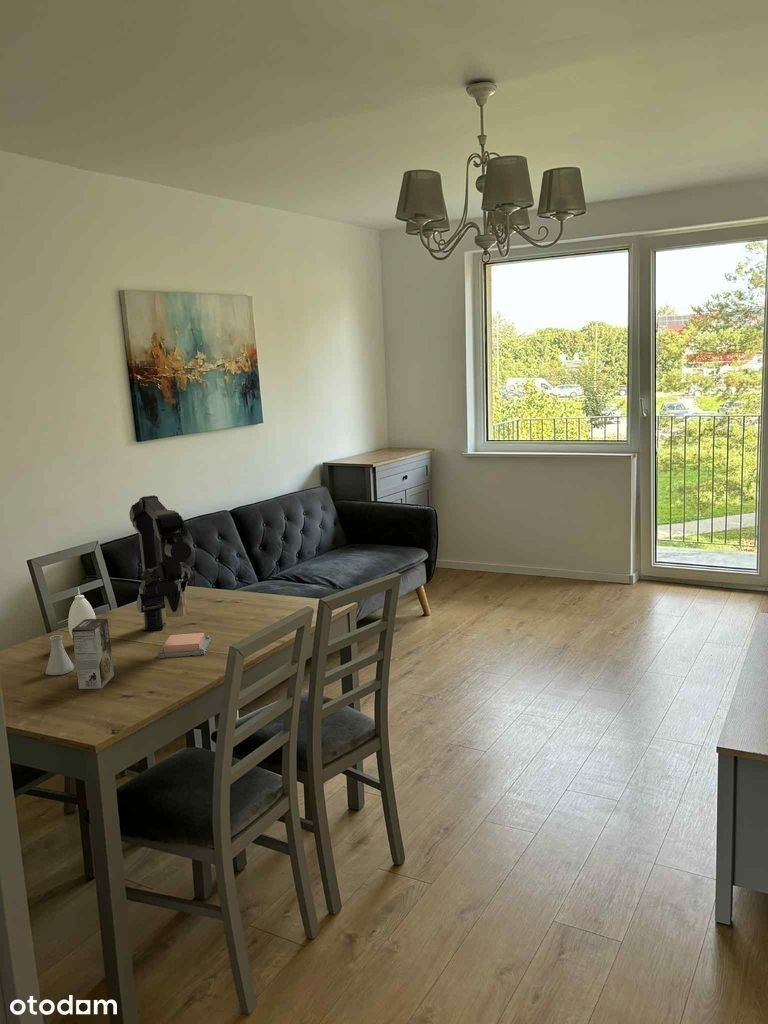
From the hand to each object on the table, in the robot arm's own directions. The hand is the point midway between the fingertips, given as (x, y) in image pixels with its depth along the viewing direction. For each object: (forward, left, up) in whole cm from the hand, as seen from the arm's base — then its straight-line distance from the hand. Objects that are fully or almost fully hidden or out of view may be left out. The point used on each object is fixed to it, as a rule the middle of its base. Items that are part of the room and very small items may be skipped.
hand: (176, 609), depth 236 cm
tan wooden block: (0, 0, -2) cm, 2 cm away
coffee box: (+23, -18, -12) cm, 31 cm away
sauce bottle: (-11, -31, -12) cm, 35 cm away
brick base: (0, +1, -12) cm, 12 cm away
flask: (+12, -31, -12) cm, 35 cm away
